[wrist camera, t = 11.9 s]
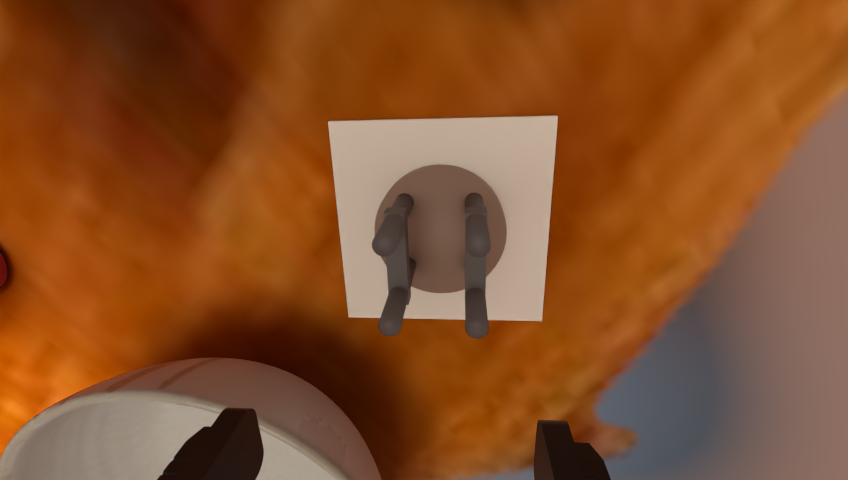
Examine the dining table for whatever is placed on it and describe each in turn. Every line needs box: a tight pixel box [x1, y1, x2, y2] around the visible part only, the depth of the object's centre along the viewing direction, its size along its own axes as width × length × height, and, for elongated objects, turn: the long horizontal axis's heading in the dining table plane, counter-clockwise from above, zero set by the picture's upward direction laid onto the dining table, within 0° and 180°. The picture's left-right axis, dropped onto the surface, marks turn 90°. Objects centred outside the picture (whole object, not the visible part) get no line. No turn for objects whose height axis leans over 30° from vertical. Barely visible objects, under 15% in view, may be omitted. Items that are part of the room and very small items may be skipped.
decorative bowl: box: [0, 358, 382, 480], centre depth 33 cm, size 27×27×12 cm
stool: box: [372, 164, 507, 338], centre depth 26 cm, size 9×9×10 cm
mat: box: [328, 115, 558, 321], centre depth 30 cm, size 15×15×1 cm
